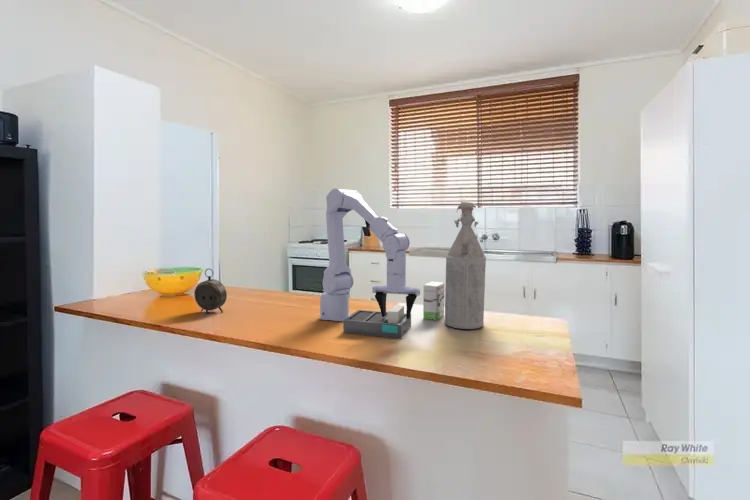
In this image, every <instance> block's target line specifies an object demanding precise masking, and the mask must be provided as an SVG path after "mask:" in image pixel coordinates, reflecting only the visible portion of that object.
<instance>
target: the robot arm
mask: <svg viewBox="0 0 750 500" xmlns="http://www.w3.org/2000/svg"><path fill="white" fill-rule="evenodd" d="M351 211H354V212H356V213H357V214H358V215H359V216H360V217H361V218H362V219H364V220H365V221H366V222H367V223H368V224H369V230H370V231H371V232H372V233H373V235H375V236H376V237H377V239H378V240H379V241H381V242H382V248H383V250H384V251H385V258H386V285H373V286H372V290H371V291H372V292H371V293H372V294H375V295H374V298H375V300H376V302H377V303H378V306H379V309H380V312H381V314H382V317H385V316H386V312H387V296H388V295H387V294H389V295H390V294H393V295H406V296H405V301H406V305H405V306H406V312H405V314H406V319H409V318H410V314H411V313H412V309H413V307H414V304H415V301H416V299H417V297H419V296H420V295H421V288H420V287H418V288H417V287H411V286H406V281H407V280H406V279H407V278H406V273H407V272H406V270H407V269H406V267H407V265H406V261H407V260H406V259H407V257H406V256H407V255H406V253H407V250H408V249H409V247H410V239H409V237H408V235H407V234H406V233H405V232H399V229H398V228H396V227H394V226H393V225H392V224H391V223H390V222H389V219H388V217H384V216H382V215H381V216H378V215H377V214H376V213H375V212H374V211H373V209H372V208H371V207H370V206H369V204H367V202H366V201H365V200H364V199H363V196H362V195H361V194H360V193H359V192H358V191H357V190H355V189H341V188H332V189H331V190H330V191H329V192H328V193H327V195H326V213H325V218H326V220H325V221H326V231H327V232H326V234H327V248H328V250H327V251H328V263H329V265H328V266H327V267H326V268H325V270H324V271H323V278H322V288H323V290H324V292H322V294H321V296H320V299H319V309H320V310H319V314H320V316H319V320H323V321H334V322H335V321H336V322H343V320H344V319H346V318H347V317H349V316H350V315H351V314H352V313H350V292H351V289H352V288H353V286H354V277H353V276H352V270H351V268H350V267H349V266H348V265H347V264H346V251H345V237H344V236H345V235H344V225H343V224H344V223H343V222H344V220H343V219H344V218H345V216H346V215H347V214H348V213H350V212H351ZM411 315H412V314H411Z"/></svg>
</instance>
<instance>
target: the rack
mask: <svg viewBox="0 0 750 500" xmlns="http://www.w3.org/2000/svg"><path fill="white" fill-rule="evenodd" d="M350 314H351V315H350V316H349V317H347V318H346V319H344V320H343V321H342V323H343V324H342V325H343V326H342V328H343V329H342V330H343V331H342V333H343V334H351V335H360V336H370V337H379V338H380V337H381V338H389V339H390V338H391V339H397V340H398V339H400V340H401V339H403V337H404V336H405V335H406V334H407V332H408V331H409V330H410V328H411V327H412V314H410V318H409V319H406V313H404V319H403V320H402V321H401V322H400V323H399V324H393V323H388V311H386V316H385V317H382V314H381V311H377V310H366V309H357V310H356V311H354V312H353V313H350Z"/></svg>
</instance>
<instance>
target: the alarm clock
mask: <svg viewBox="0 0 750 500" xmlns="http://www.w3.org/2000/svg"><path fill="white" fill-rule="evenodd" d="M209 270H211V273H212V275H211V276H210V275H209V276H208V275H207V271H209ZM204 275H205V277H206V278H208V279H207V280H204V281H201V282H199V283H198V284H197V285H196V287H195V290H194V299H195V302H196V305H198V307H200V308H201V312H203V311H204V310H205V314H208V312H209V311H210V312H211V311H215V310H217V309H218V310H219V311H220V312H221V313H224V310H223V309H222V308H221V307H223V305H225V303H226V301H227V297H228V296H227V295H228V293H227V289H226V287H225V286H224V284H223V283H222V282H220V280H217V279H214V278H212V277H213V276H214V271H213V269H212V268H206V269H205V271H204Z"/></svg>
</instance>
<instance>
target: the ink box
mask: <svg viewBox="0 0 750 500" xmlns="http://www.w3.org/2000/svg"><path fill="white" fill-rule="evenodd" d="M445 285H446V282H441V281H432V280H431V281H430V282H427V283H425V284H424V285H423V303H422V304H423V309H422V310H423V316H422V317H423V319H424V320H432V319H433V320H434V321H437V320H438V319H440V318H441V317H443V316H445ZM433 320H432V321H433Z"/></svg>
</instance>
